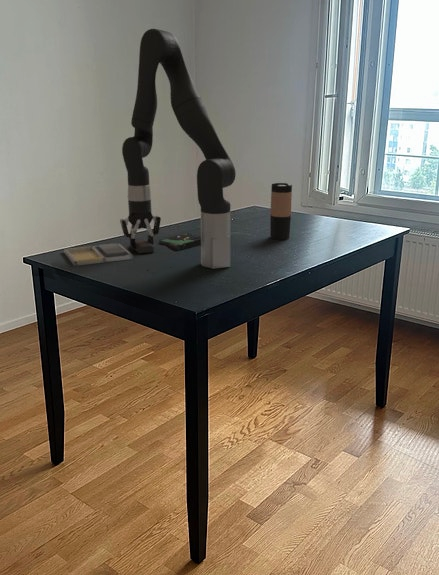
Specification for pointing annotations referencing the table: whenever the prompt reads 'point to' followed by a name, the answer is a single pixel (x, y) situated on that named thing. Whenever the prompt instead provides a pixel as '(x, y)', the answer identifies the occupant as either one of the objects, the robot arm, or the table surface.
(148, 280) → the table surface
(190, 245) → the disk drive
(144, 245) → the usb drive
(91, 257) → the tray
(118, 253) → the blank panel
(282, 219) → the travel mug
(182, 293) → the table surface
